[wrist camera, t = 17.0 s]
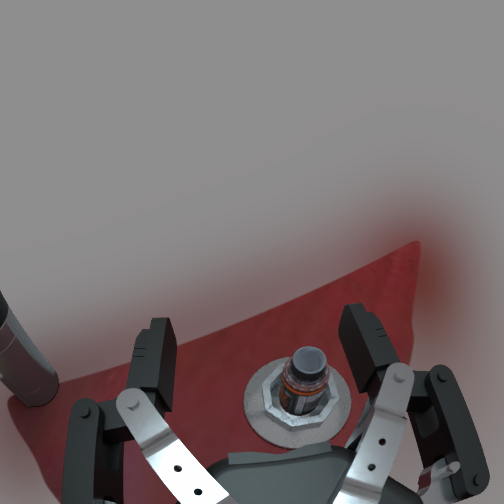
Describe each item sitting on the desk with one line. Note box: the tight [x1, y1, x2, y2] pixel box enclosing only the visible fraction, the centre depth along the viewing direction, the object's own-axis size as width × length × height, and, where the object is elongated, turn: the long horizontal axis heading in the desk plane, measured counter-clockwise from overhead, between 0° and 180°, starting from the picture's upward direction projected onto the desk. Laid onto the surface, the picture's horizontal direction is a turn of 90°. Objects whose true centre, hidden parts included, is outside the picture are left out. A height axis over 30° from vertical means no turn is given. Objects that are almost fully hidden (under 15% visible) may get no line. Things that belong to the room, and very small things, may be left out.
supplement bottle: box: [279, 346, 330, 416], centre depth 34 cm, size 6×6×11 cm
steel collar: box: [244, 357, 351, 450], centre depth 37 cm, size 16×16×4 cm
